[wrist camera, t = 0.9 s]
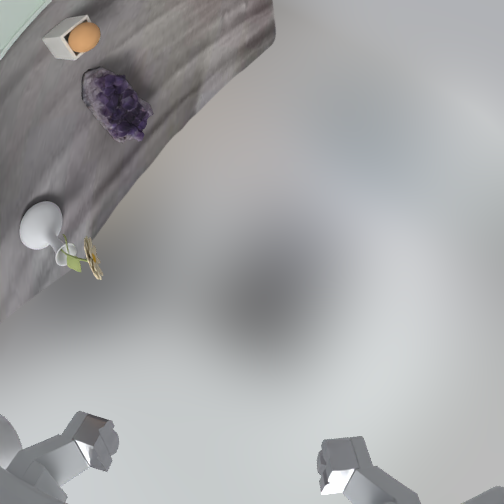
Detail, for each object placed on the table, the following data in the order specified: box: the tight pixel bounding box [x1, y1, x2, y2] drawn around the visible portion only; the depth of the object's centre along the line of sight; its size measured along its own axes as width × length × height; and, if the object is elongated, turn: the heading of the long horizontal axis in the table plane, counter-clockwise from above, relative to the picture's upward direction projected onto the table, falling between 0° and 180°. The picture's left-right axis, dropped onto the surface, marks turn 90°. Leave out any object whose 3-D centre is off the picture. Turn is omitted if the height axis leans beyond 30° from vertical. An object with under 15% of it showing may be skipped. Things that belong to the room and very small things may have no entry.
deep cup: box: [42, 15, 101, 60], centre depth 31 cm, size 6×6×9 cm
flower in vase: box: [19, 201, 103, 280], centre depth 48 cm, size 13×11×25 cm
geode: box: [82, 67, 153, 143], centre depth 50 cm, size 20×12×10 cm, turn 18°
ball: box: [68, 22, 100, 53], centre depth 30 cm, size 5×5×5 cm
